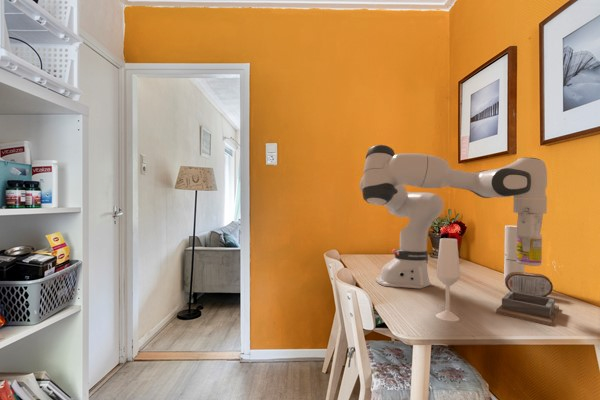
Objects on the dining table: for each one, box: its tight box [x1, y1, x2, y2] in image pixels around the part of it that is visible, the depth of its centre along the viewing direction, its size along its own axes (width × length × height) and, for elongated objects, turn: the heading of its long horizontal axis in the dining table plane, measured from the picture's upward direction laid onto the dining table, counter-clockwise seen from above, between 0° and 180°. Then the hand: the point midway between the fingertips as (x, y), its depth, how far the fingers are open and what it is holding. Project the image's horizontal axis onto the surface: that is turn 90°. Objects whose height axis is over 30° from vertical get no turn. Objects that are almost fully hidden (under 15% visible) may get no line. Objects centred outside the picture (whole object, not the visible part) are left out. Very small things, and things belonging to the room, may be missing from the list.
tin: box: [504, 271, 554, 297], centre depth 122 cm, size 15×3×8 cm, turn 65°
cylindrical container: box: [503, 224, 525, 285], centre depth 137 cm, size 7×7×25 cm
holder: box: [495, 290, 560, 326], centre depth 105 cm, size 20×14×4 cm
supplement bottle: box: [517, 225, 543, 267], centre depth 105 cm, size 7×7×13 cm
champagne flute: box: [435, 237, 461, 322], centre depth 99 cm, size 7×7×24 cm
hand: (528, 250), depth 105 cm, fingers closed on supplement bottle, 7 cm apart
